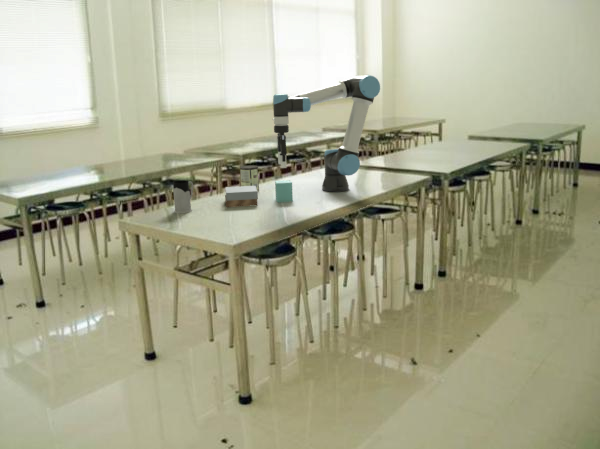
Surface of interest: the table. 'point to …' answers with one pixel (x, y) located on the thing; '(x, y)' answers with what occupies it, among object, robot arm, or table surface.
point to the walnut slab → (240, 202)
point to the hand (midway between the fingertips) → (282, 165)
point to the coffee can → (249, 176)
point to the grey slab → (241, 193)
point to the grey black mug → (182, 196)
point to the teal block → (283, 191)
